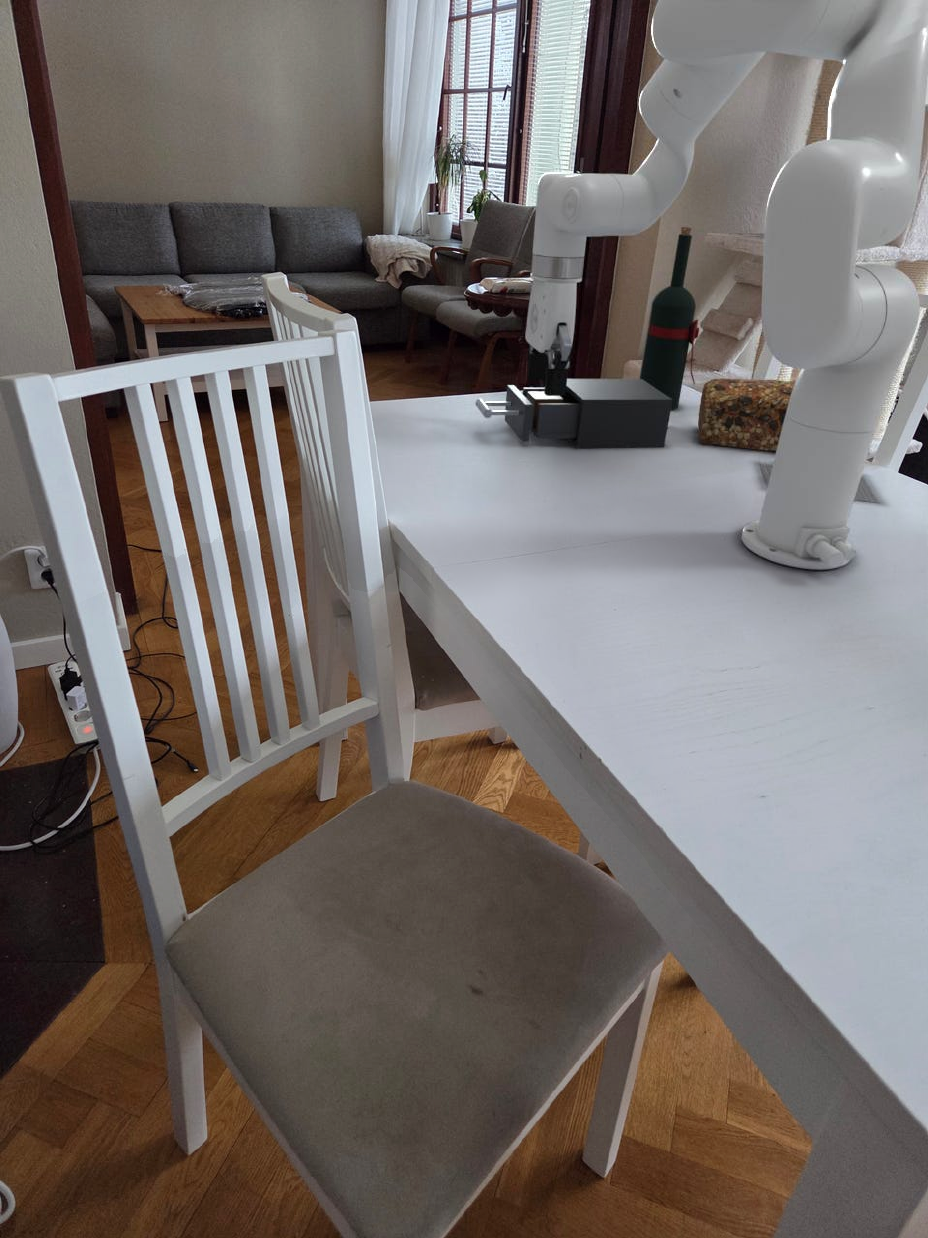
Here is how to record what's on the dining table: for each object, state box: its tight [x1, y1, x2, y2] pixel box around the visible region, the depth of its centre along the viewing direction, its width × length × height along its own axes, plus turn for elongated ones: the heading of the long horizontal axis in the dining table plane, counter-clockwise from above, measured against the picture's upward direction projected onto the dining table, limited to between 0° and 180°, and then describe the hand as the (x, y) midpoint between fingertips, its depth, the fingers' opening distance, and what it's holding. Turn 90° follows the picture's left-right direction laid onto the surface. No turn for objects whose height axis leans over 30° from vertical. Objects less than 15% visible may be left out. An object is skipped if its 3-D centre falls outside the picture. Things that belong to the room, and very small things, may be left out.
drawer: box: [475, 384, 581, 443], centre depth 131 cm, size 19×11×6 cm, turn 101°
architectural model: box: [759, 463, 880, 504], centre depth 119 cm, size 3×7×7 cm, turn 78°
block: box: [527, 392, 563, 428], centre depth 131 cm, size 5×5×5 cm
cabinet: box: [566, 378, 672, 449], centre depth 133 cm, size 15×13×8 cm
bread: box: [697, 378, 796, 452], centre depth 133 cm, size 19×11×10 cm, turn 77°
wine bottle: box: [638, 225, 700, 411], centre depth 145 cm, size 8×10×30 cm
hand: (545, 386), depth 129 cm, fingers open, 9 cm apart
